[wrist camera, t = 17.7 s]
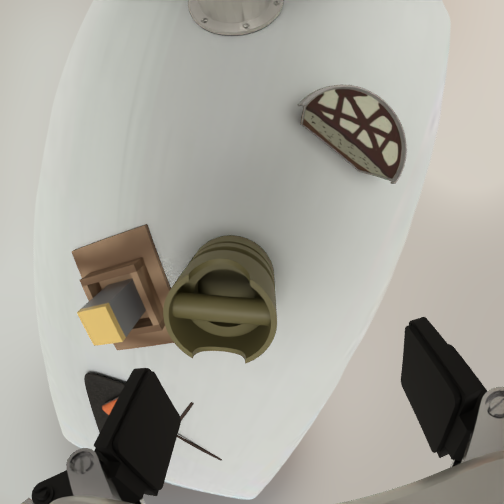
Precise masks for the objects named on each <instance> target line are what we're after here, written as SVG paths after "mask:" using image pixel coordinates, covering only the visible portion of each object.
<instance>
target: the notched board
mask: <svg viewBox="0 0 504 504" xmlns="http://www.w3.org/2000/svg"><path fill="white" fill-rule="evenodd" d="M72 254H73V257H74V259H75V262H76V264H77V267H78V269H79V272H80V274H81V277H82V279H81V280H80V282H81V284H82V287H83V289H84V291H85V294H86V296H87V298H88V300H89V301H90V300H91V299H92V298H94V297H95V296H96V295H97V294H98V293H99V292H100V291H101V290H103V289H104V288H105V287H106V286H107V285H109V284H112V283H116V282H120V281H124V280H128V279H131V278H132V279H133V281H134V283H135V286H136V288H137V291H138V293H139V295H140V298H141V300H142V302H143V304H144V307H145V309H146V311H145V312H144V314H143V315H142V316H141V318H140V319H139V320H138V322H137V323H136V324H135V326H134V327H133V328H132V330H131V331H130V333H129V334H128V335H127V337H126V338H125V340H124V341H123V342H118V343H113V344H114V345H115V347H116V349H117V350H123V349H131V348H139V347H146V346H154V345H160V344H167V343H174V342H173V340H172V339H171V337H170V336H169V334H168V332H167V329H166V327H165V323H164V317H163V309H164V303H165V299H166V297H167V295H168V293H169V291H170V289H171V288H170V285H169V283H168V280H167V278H166V275H165V272H164V270H163V267H162V264H161V262H160V259H159V256H158V254H157V251H156V248H155V245H154V243H153V240H152V237H151V234H150V231H149V228H148V225H147V224H146V225H143V226H141V227H138V228H135V229H132V230H129V231H126V232H123V233H120V234H117V235H114V236H112V237H109V238H106V239H103V240H100V241H98V242H95V243H92V244H89V245H87V246H84V247H81V248H79V249H76V250H74V251H72Z"/></svg>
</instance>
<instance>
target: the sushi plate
mask: <svg viewBox="0 0 504 504" xmlns="http://www.w3.org/2000/svg"><path fill="white" fill-rule="evenodd" d="M85 386H86V390H87V394H88V397H89V401H90V404H91V408H92V411H93V414H94V417H95V420H96V423H97V426H98V429H99V432H101V430H102V428H103V426H104V424H105V422H106V420H107V418H108V416H109V414H110V412H111V410H112V408H113V407H114V405H115V403H116V401H117V399H118V397H119V395H120V393H121V391H122V390H123V388H124V386H125V384H124V383H121V382H118V381H115V380H112V379H109V378H106V377H103V376H100V375H96V374H92V373H88V374H86V375H85ZM193 404H194V403H192V402H191V403H190V404H189V406H188V407H187V408H186V410H185V411H184V412H183V414H182V415H181V416H180V419H181V420H182V419H183V418H184V416H185V415H186V414H187V412H188V411H189V410H190V408H191V407H192V405H193ZM177 437H178V438H180V439H181V440H183V441H185V442H187V443H188V444H190V445H192V446H194V447H195V448H197V449H199V450H201V451H203V452H205V453H207V454H209V455H211V456H213V457H215V458H217V459H219V460H222V459H220V458H219V457H217V456H215V455H213V454H212V453H210V452H208V451H207V450H205V449H203V448H201V447H199V446H197V445H195V444H193V443H191V442H190V441H188V440H186V439H184V438H182V437H180V436H178V435H177Z"/></svg>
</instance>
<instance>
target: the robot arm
mask: <svg viewBox="0 0 504 504" xmlns="http://www.w3.org/2000/svg"><path fill="white" fill-rule="evenodd" d="M275 5H277V6H275ZM282 6H283V0H189V1H188V7H189V11H190V14H191V16H192V17H193V19H194V21H195V22H196V23H197V24H198V25H199V26H201V27H202V28H204V29H206V30H208V31H210V32H213V33H216V34H221V35H243V34H248V33H252V32H255V31H257V30H260V29H262V28H264V27H266V26H267V25H269V24H270V23H271V22H273V21H274V20H275V19H276V17H277V16H278V15H279V13H280V11H281V10H282ZM205 22H207V23H205ZM245 28H248V29H245ZM401 384H402V387H403V389H404V391H405V393H406V396H407V398H408V400H409V402H410V404H411V406H412V408H413V410H414V412H415V414H416V416H417V419H418V421H419V423H420V425H421V428H422V430H423V432H424V434H425V436H426V439H427V441H428V443H429V446H430V448H431V450H432V452H434V453H435V452H437V453H438V456H439V458H441V457H443V456H445V455H447V454H449V455H450V457H451V459H453V462H452V464H451V467H450V468H449V469H446V470H444V471H441V472H439V473H436V474H434V475H431V476H429V477H426V478H424V479H421V480H418V481H416V482H413V483H410V484H407V485H404V486H401V487H398V488H395V489H392V490H389V491H385V492H382V493H379V494H375V495H371V496H368V497H364V498H360V499H356V500H351V501H347V502H342V503H338V504H504V387H496V388H493V389H491V390H489V391H488V392H487V390H486V389H485V387H484V386H483V385H482V383H481V382H480V381H479V379H478V378H477V377H476V375H475V374H474V373H473V371H472V370H471V369H470V367H469V366H468V365H467V364H466V362H465V361H464V359H463V358H462V357H461V356H460V355H459V353H458V352H457V351H456V349H455V348H454V347H453V346H452V345H449V344H447V343H446V341H445V340H444V339H443V338H442V337H441V335H440V334H439V333H438V332H437V330H436V329H435V328H434V327H433V326H432V324H431V323H430V322H429V321H428V320H427V318H425V317H421V318H418V319H415V320H412V321H410V322H409V326H407V327H406V328H405V339H404V353H403V364H402V373H401ZM180 423H181V419H180V416H179V414H178V412H177V411H176V409H175V407H174V406H173V404H172V402H171V401H170V399H169V397H168V395H167V394H166V392H165V390H164V388H163V387H162V385H161V383H160V381H159V380H158V378H157V376H156V374H155V373H154V372H152V371H151V370H150V369H149V368H139V369H134V370H133V371H132V373H131V375H130V377H129V379H128V380H127V382H126V384H125V386H124V388H123V390H122V391H121V393H120V395H119V397H118V399H117V401H116V403H115V405H114V407H113V408H112V410H111V412H110V414H109V416H108V418H107V420H106V422H105V424H104V426H103V428H102V430H101V432H100V434H99V436H98V438H97V440H96V442H95V444H94V446H95V447H96V449H95V451H93V450H92V449H89V448H82V449H79V450H77V451H75V452H74V453H72V454H71V455H70V457H69V459H68V460H67V464H66V465H67V470H66V471H64V472H62V473H60V474H58V475H55V476H53V477H51V478H49V479H47V480H44V481H42V482H40V483H38V484H37V485H36V486H35V487H34V489H33V491H32V500H31V499H30V498H28V499H27V500H25V501H24V502H23V503H22V504H145V502H144V500H143V494H147V495H153V496H157V494H158V491H159V490H161V489H162V487H163V484H164V480H165V477H166V473H167V469H168V466H169V462H170V459H171V455H172V452H173V448H174V444H175V441H176V437H177V434H178V430H179V427H180Z"/></svg>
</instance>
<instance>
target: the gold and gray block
mask: <svg viewBox="0 0 504 504" xmlns="http://www.w3.org/2000/svg"><path fill="white" fill-rule="evenodd" d="M145 311H146V309H145V307H144V304H143V302H142V300H141V298H140V295H139V293H138V291H137V288H136V286H135V283H134V281H133V279H132V278H131V279H128V280H124V281H120V282H116V283H112V284H109V285H107V286H106V287H105V288H104V289H103V290H101V291H100V292H99V293H98V294H97V295H96V296H95V297H94V298H92V299H91V300H90V301H89V302H88V303H87V304H86V305H85V306H84V307H82V308H81V309H80V310H79V311H78V312H77V314H78V316H79V318H80V320H81V322H82V324H83V326H84V328H85V329H86V331H87V333H88V335H89V337H90V339H91V341H92V342H93V344H94V346H95V345H103V344H111V343H118V342H123V341H124V340H125V338H126V337H127V335H128V334H129V333H130V331H131V330H132V328H133V327H134V326H135V324H136V323H137V322H138V320H139V319H140V318H141V316H142V315H143V314H144V312H145Z"/></svg>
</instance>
